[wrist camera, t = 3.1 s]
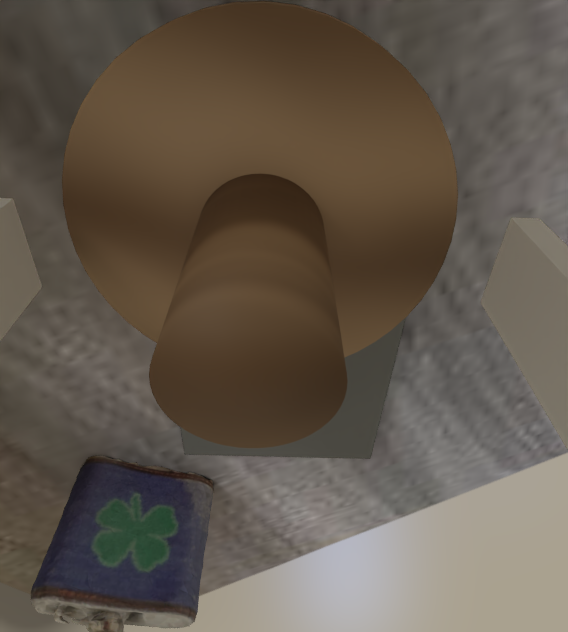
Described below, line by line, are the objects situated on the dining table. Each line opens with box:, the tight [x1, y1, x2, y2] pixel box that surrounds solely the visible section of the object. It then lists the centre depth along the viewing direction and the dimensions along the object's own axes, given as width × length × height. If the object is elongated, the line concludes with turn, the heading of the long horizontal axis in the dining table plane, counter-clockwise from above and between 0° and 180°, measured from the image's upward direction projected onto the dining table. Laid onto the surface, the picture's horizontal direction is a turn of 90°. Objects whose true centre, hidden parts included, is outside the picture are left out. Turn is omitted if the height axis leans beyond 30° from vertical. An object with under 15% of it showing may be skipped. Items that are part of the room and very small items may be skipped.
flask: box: [31, 455, 214, 632], centre depth 28 cm, size 9×3×11 cm, turn 71°
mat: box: [181, 318, 406, 459], centre depth 26 cm, size 12×12×1 cm
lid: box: [62, 1, 458, 448], centre depth 11 cm, size 11×11×7 cm
